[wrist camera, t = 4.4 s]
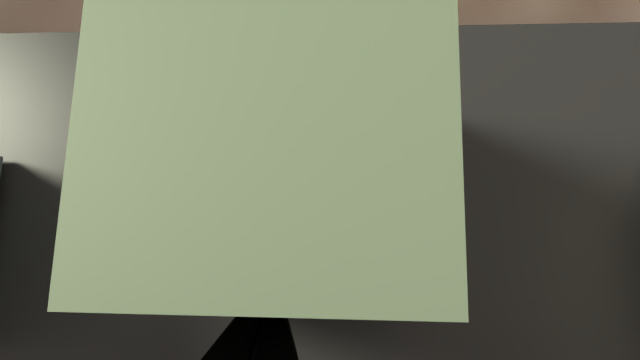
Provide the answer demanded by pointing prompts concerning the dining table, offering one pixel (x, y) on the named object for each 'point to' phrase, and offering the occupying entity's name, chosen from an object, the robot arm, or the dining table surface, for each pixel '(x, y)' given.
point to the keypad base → (479, 198)
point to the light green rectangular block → (265, 161)
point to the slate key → (0, 161)
